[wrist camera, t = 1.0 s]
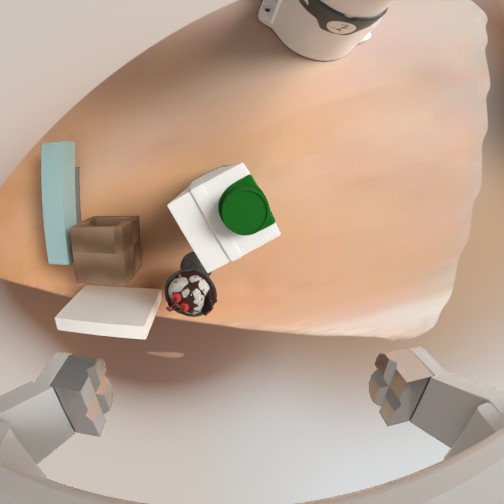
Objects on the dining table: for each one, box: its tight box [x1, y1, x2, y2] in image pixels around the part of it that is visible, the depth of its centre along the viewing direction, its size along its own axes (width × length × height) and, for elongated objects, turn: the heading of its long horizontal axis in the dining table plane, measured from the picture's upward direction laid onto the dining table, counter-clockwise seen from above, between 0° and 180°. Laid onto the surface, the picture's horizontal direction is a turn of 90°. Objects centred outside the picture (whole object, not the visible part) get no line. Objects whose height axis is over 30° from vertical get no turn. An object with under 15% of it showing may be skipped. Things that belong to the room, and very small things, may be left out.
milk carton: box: [167, 163, 280, 273], centre depth 34 cm, size 9×9×20 cm
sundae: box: [165, 252, 217, 317], centre depth 39 cm, size 7×7×15 cm
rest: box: [75, 167, 81, 224], centre depth 40 cm, size 10×3×2 cm, turn 177°
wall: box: [55, 285, 162, 339], centre depth 41 cm, size 2×14×12 cm, turn 87°
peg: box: [41, 141, 77, 265], centre depth 37 cm, size 18×4×4 cm, turn 177°
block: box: [70, 216, 141, 286], centre depth 40 cm, size 8×8×8 cm
